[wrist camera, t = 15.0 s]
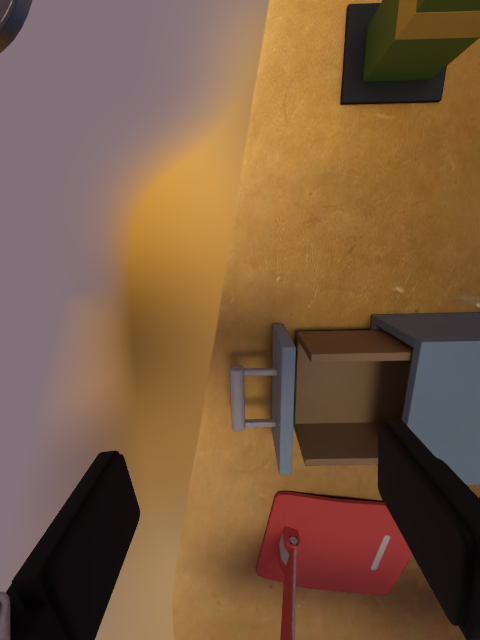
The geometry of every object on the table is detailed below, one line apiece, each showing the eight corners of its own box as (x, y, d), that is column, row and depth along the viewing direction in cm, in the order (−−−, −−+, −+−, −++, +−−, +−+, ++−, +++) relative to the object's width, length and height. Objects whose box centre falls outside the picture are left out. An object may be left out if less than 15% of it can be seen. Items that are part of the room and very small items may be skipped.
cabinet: (358, 426, 35) (396, 486, 26) (371, 314, 31) (421, 342, 22) (491, 424, 34) (572, 483, 26) (522, 311, 30) (630, 337, 22)
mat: (340, 104, 25) (341, 102, 25) (347, 7, 23) (348, 3, 23) (438, 102, 25) (441, 100, 25) (453, 4, 23) (456, 0, 23)
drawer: (233, 429, 34) (231, 475, 27) (230, 324, 30) (227, 348, 23) (398, 426, 34) (436, 472, 27) (415, 321, 30) (465, 343, 23)
